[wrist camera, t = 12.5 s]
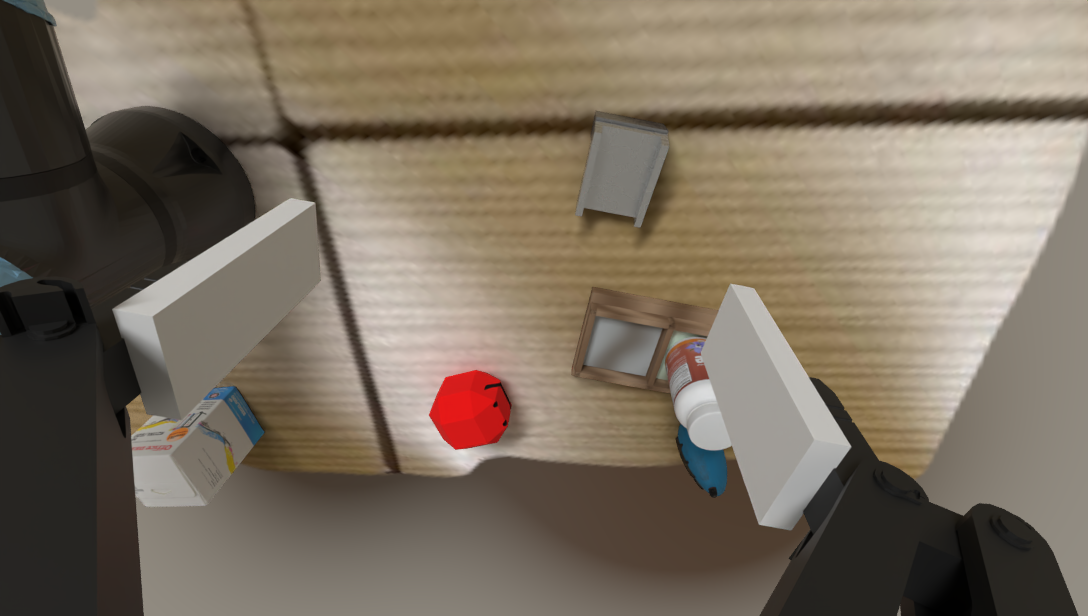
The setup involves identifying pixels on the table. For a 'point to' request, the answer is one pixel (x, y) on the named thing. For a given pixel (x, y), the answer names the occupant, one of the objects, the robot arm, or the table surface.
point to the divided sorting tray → (634, 337)
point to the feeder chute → (622, 165)
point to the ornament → (703, 464)
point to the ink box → (193, 450)
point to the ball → (471, 410)
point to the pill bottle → (695, 395)
